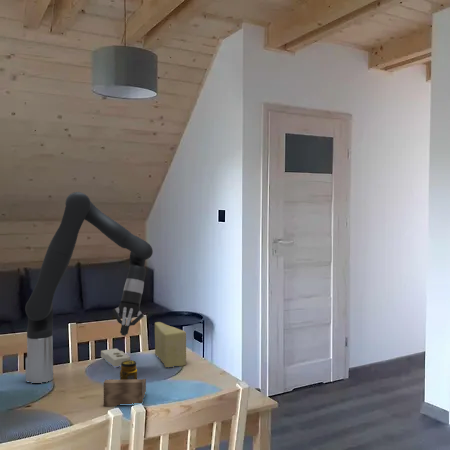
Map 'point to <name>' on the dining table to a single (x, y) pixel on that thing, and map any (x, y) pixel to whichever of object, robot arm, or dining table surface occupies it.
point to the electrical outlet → (114, 356)
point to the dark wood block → (124, 391)
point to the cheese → (170, 345)
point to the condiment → (128, 370)
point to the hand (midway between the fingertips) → (123, 335)
